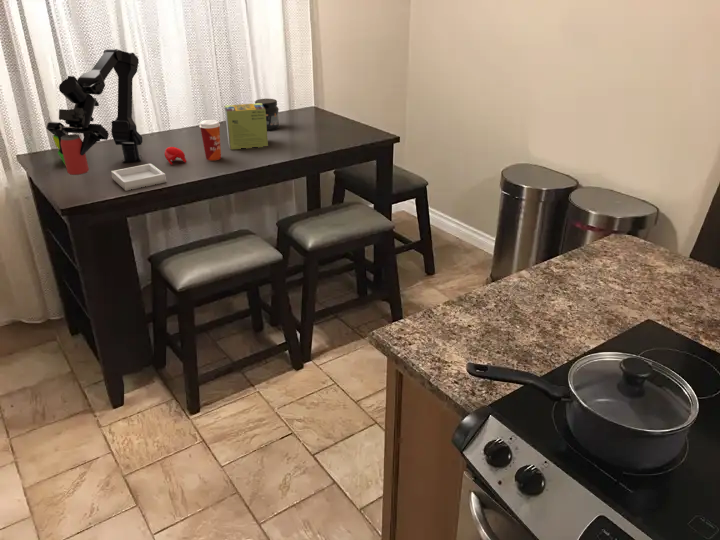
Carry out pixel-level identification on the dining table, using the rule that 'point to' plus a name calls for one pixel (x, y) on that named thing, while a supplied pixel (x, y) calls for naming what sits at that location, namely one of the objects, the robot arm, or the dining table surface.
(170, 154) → the cap
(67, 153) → the beer can
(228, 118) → the protein box
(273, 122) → the supplement container
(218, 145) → the paper cup
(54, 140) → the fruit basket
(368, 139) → the dining table surface
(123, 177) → the tray
